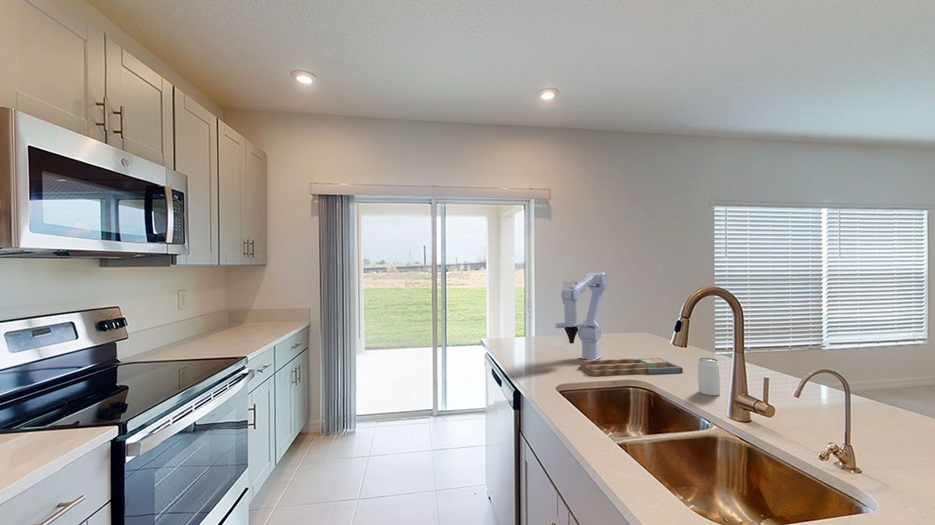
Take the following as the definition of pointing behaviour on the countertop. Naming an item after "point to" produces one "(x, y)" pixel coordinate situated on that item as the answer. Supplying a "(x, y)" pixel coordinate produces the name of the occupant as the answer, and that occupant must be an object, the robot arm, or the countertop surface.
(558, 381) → the countertop surface
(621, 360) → the brown wooden rack
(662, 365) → the salmon pink block
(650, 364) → the pale green upright block
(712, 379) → the can
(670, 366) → the tray
